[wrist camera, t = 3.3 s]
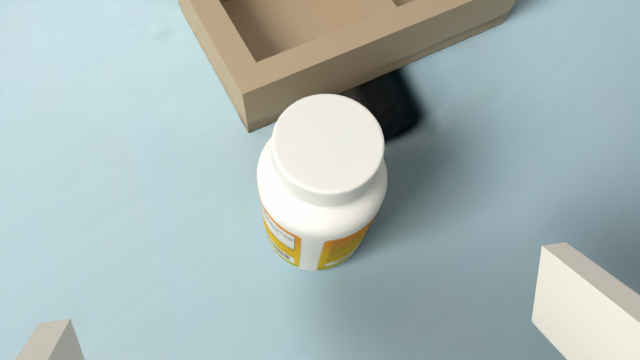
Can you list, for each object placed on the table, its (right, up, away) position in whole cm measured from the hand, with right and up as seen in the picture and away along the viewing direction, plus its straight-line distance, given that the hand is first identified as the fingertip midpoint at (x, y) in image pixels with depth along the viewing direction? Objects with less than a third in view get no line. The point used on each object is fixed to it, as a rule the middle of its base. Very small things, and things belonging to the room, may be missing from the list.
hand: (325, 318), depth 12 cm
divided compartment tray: (+2, +15, +18) cm, 23 cm away
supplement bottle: (0, +1, +12) cm, 12 cm away
